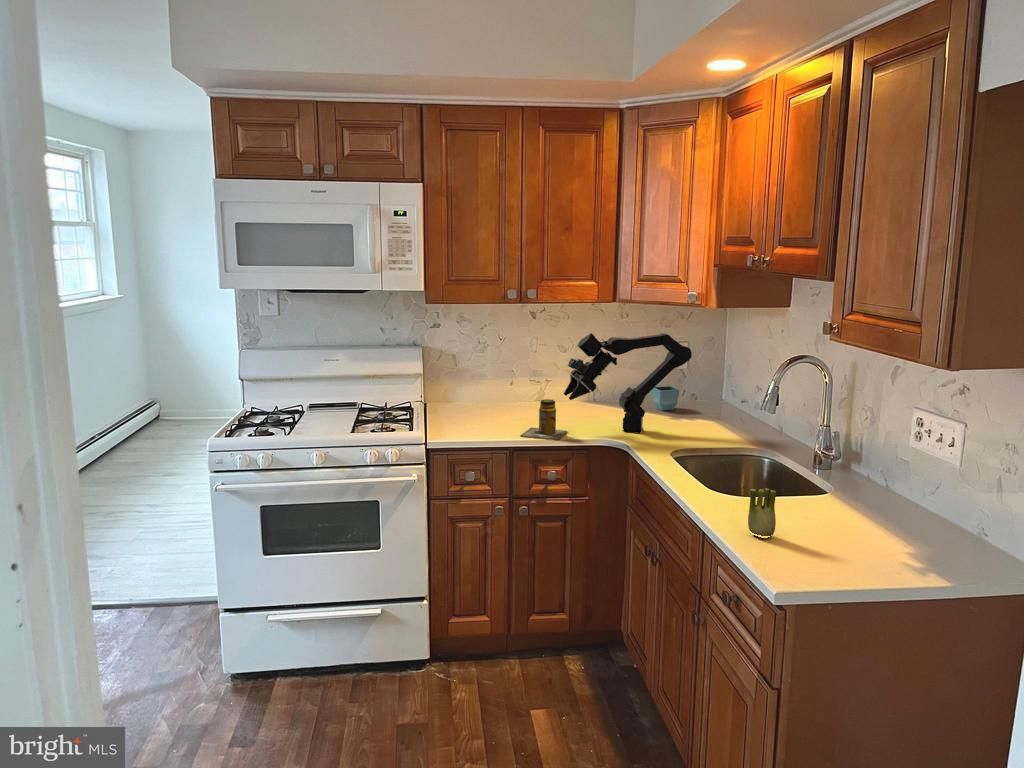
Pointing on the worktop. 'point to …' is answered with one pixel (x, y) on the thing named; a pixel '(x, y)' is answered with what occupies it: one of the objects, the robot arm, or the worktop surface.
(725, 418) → the worktop surface
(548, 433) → the condiment
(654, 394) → the flower pot
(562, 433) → the walnut coaster
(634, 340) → the robot arm
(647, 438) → the worktop surface
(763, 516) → the fennel bulb
